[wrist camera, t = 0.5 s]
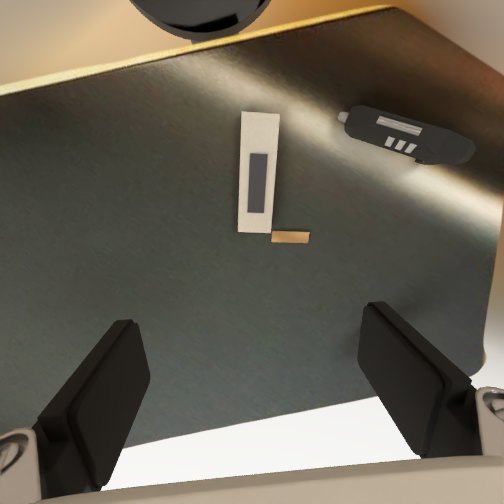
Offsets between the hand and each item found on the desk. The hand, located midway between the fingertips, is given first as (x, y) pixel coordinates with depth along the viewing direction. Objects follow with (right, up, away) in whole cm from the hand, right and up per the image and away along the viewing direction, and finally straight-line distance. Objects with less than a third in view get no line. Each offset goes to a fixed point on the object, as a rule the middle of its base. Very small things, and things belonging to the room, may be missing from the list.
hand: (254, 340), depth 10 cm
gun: (+19, +20, +25) cm, 37 cm away
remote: (+1, +15, +26) cm, 30 cm away
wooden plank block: (+6, +6, +29) cm, 30 cm away
